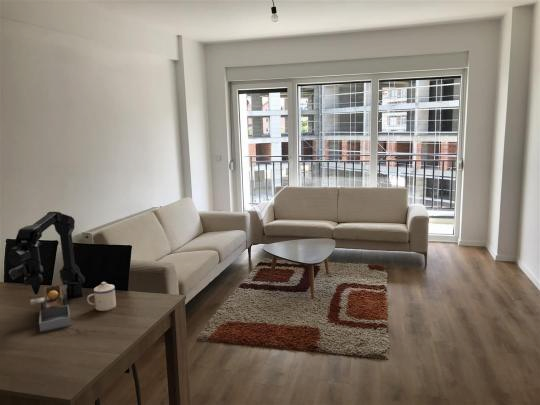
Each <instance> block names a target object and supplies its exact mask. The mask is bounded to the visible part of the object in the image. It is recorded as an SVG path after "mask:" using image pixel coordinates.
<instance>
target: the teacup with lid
mask: <svg viewBox="0 0 540 405" xmlns="http://www.w3.org/2000/svg"><path fill="white" fill-rule="evenodd" d="M100 283H101V284H99V285H97V286H96V287H94V288H93V293H90V294H88V295H87V298H86V300H87V303H88V304H89V305H94V306H95V310H97V311H99V312H101V311H102V312H104V311H109V310H113V309H115V308H116V306H117V299H116V298H117V297H116V287H115V285H114V284H109V283H107V282H106V281H102V282H100ZM93 296H94V302H91V301H90V297H93Z"/></svg>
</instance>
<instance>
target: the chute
mask: <svg viewBox="0 0 540 405" xmlns="http://www.w3.org/2000/svg"><path fill="white" fill-rule="evenodd" d="M53 290H55V291H57V292H58V297H57V298H56V299H55V300H51V299H49V297H48V294H49V292H50V291H53ZM43 294H44V295H43V297H37V298H32V299H30V305H36V304H41V303H42V302H43V305H44V310H45V309H50V308H55V307H60V306H64V302H63V301H65V296H64V297H63V291H62V284H57V285H52V286H46V287H44V291H43Z"/></svg>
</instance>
